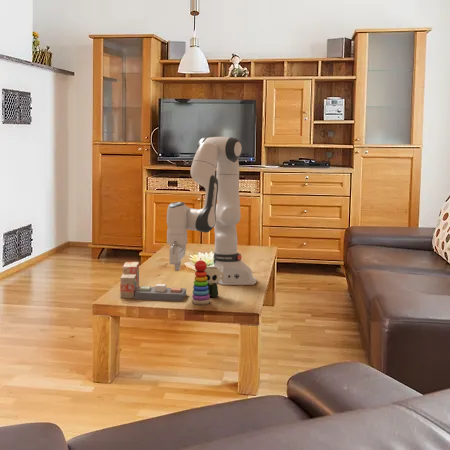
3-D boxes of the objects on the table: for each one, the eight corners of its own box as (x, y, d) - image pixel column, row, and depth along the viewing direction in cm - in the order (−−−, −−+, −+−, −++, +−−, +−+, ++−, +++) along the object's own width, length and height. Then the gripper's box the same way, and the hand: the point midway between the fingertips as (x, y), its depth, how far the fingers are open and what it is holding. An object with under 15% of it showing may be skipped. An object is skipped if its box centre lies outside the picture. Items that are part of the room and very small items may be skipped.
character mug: (198, 298, 300) (198, 269, 298) (199, 294, 307) (200, 266, 305) (223, 298, 299) (223, 270, 298) (223, 294, 307) (224, 266, 305)
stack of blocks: (134, 298, 298) (134, 271, 296) (120, 298, 298) (119, 270, 296) (139, 287, 319) (139, 261, 317) (125, 286, 319) (125, 261, 317)
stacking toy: (191, 300, 295) (191, 258, 293) (209, 300, 296) (210, 258, 293) (191, 305, 287) (192, 262, 285) (210, 305, 288) (211, 262, 285)
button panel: (186, 295, 305) (186, 288, 304) (181, 301, 294) (182, 294, 294) (140, 293, 307) (140, 286, 307) (134, 299, 296) (134, 292, 296)
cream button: (166, 290, 302) (166, 284, 302) (164, 292, 298) (164, 286, 297) (157, 290, 302) (157, 283, 302) (155, 292, 298) (155, 285, 298)
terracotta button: (181, 294, 302) (181, 287, 301) (180, 296, 297) (180, 290, 297) (172, 293, 302) (172, 287, 302) (170, 296, 298) (170, 289, 297)
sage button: (150, 292, 303) (150, 286, 303) (148, 295, 299) (148, 288, 298) (141, 292, 303) (141, 286, 303) (139, 294, 299) (139, 288, 299)
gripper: (180, 243, 286) (180, 275, 288) (187, 235, 306) (188, 265, 308) (165, 243, 286) (166, 275, 288) (174, 235, 306) (174, 265, 308)
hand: (177, 270), depth 298 cm, fingers closed
